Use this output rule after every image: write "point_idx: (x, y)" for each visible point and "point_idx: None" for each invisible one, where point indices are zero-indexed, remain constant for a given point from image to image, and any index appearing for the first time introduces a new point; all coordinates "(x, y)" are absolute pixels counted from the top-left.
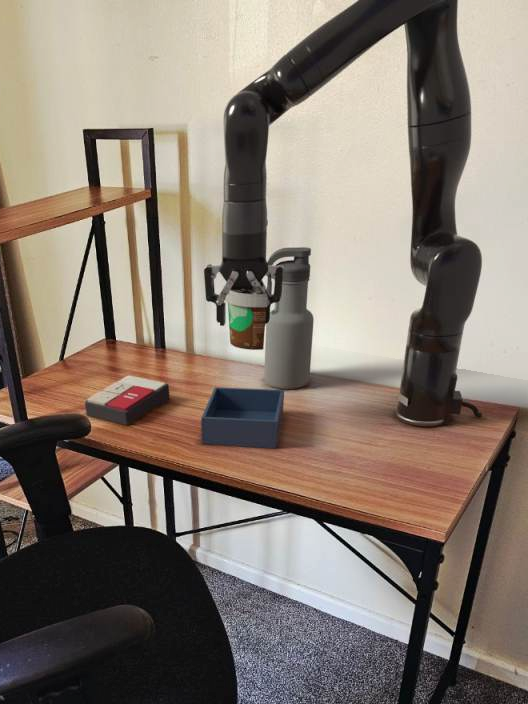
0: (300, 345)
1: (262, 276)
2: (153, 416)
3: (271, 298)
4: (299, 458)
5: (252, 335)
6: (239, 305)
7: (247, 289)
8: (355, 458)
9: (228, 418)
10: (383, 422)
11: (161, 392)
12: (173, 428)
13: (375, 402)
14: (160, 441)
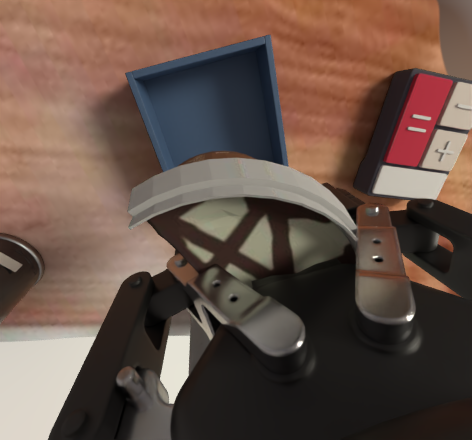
0: (198, 328)
1: (201, 357)
2: (362, 124)
3: (163, 284)
4: (83, 51)
5: (205, 158)
6: (268, 161)
7: (272, 278)
8: (3, 89)
9: (219, 52)
10: (43, 229)
11: (371, 172)
12: (321, 91)
13: (88, 281)
14: (327, 28)
